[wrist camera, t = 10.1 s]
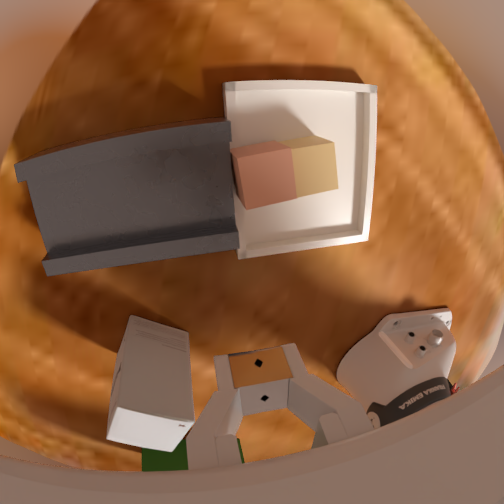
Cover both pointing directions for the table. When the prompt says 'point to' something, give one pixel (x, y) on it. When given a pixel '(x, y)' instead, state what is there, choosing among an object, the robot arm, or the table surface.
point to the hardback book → (170, 458)
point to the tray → (297, 126)
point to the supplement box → (151, 387)
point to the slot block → (134, 196)
